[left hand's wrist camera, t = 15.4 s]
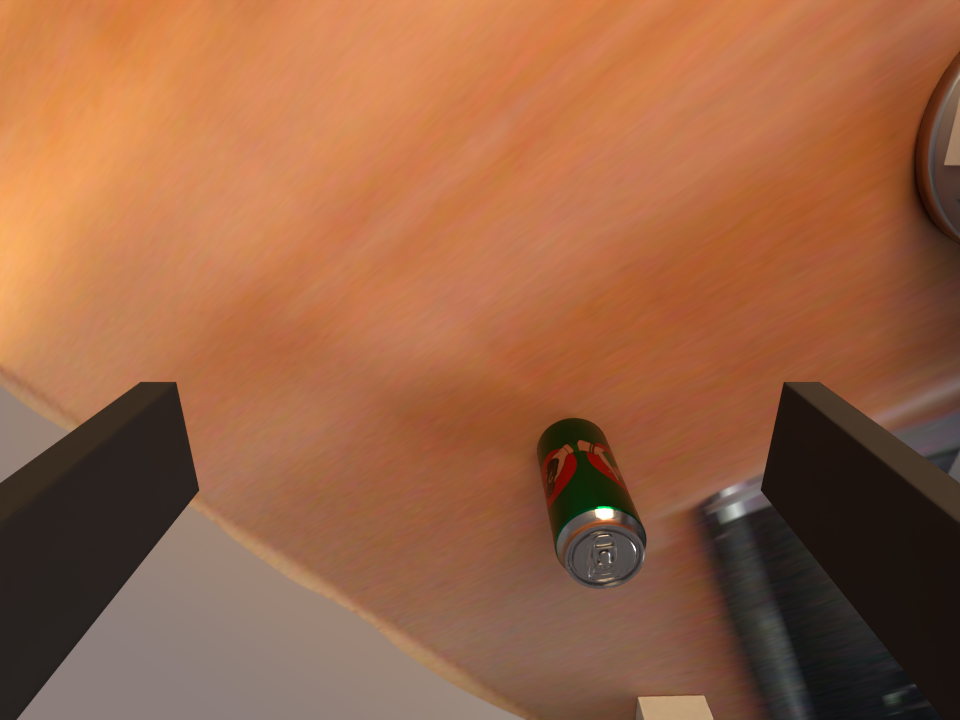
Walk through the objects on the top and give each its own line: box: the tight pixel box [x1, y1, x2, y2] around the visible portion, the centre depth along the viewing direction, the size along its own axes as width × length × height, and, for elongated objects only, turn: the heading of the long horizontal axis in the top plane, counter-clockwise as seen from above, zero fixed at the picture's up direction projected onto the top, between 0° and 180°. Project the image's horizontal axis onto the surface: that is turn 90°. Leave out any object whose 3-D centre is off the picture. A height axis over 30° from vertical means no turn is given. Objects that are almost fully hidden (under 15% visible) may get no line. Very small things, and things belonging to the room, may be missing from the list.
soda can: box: [537, 418, 646, 589], centre depth 36 cm, size 5×5×12 cm
